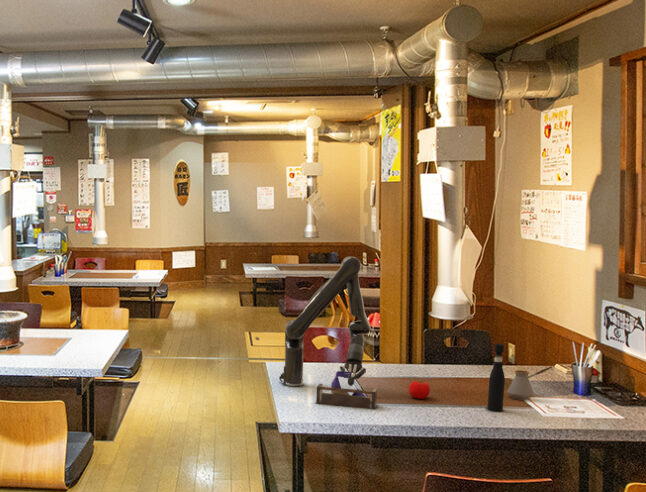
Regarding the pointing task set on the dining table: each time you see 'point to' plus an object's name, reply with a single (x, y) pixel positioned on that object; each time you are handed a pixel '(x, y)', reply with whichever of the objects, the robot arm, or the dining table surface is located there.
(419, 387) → the tomato
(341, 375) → the sandal
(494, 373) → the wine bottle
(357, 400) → the shoe rack
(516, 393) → the coffee pot
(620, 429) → the dining table surface
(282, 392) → the dining table surface
